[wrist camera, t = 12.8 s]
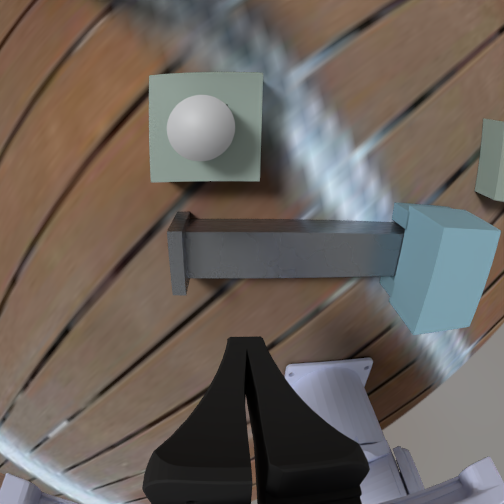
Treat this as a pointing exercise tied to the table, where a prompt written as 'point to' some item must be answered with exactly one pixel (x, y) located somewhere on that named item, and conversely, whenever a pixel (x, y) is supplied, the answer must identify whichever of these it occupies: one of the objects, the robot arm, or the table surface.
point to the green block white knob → (205, 126)
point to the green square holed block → (491, 161)
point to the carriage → (440, 266)
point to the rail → (280, 249)
